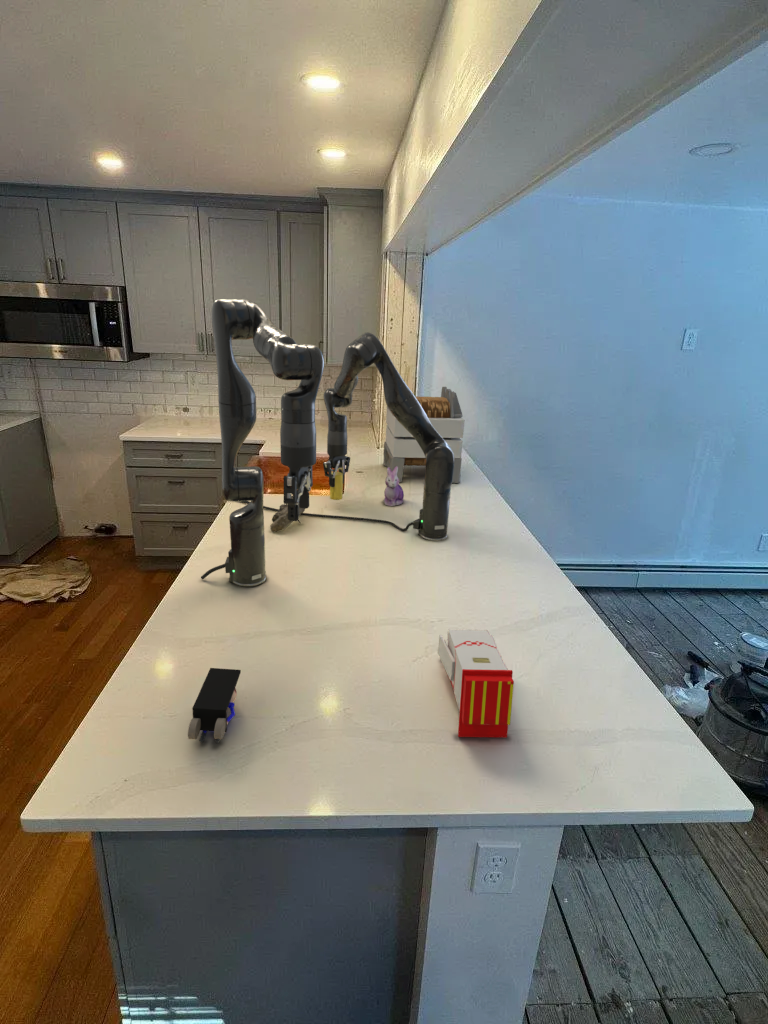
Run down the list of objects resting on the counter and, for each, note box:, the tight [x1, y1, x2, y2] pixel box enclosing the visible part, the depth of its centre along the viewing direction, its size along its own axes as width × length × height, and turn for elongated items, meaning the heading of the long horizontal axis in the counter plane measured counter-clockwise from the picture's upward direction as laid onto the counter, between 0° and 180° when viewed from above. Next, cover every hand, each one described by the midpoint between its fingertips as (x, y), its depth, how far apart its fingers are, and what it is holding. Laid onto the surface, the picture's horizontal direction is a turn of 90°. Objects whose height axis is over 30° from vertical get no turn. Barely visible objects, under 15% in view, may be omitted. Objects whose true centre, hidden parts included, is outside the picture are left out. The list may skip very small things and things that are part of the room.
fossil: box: [270, 495, 306, 533], centre depth 203 cm, size 22×10×15 cm
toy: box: [437, 628, 515, 738], centre depth 117 cm, size 12×13×30 cm
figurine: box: [383, 466, 405, 507], centre depth 229 cm, size 9×10×15 cm
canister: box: [329, 471, 344, 501], centre depth 219 cm, size 5×5×10 cm
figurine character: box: [187, 667, 241, 744], centre depth 105 cm, size 7×8×15 cm
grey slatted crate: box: [383, 386, 465, 484], centre depth 268 cm, size 34×33×41 cm
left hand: (299, 513), depth 125 cm, fingers open, 8 cm apart
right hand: (336, 484), depth 219 cm, fingers closed on canister, 5 cm apart
